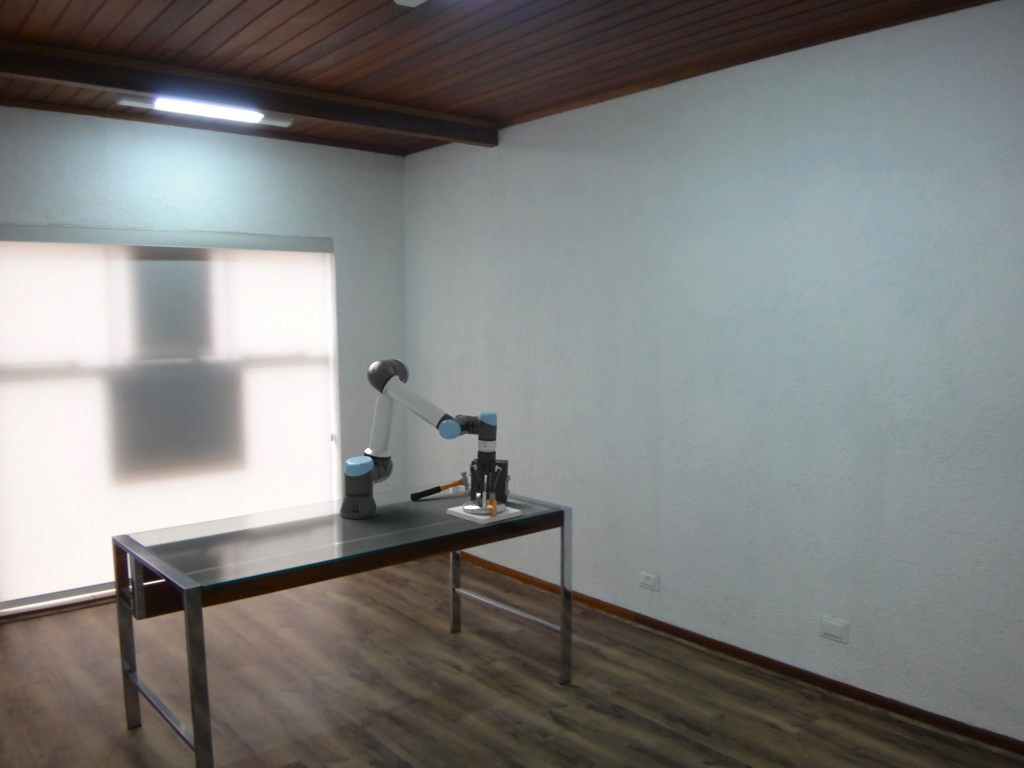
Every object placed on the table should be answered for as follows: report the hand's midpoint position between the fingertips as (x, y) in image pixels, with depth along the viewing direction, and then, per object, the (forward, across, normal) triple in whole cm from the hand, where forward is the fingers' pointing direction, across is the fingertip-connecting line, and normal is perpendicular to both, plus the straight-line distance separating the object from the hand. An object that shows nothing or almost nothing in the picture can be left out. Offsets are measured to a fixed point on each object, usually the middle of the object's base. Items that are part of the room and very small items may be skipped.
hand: (484, 507), depth 331 cm
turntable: (+3, -1, +7) cm, 7 cm away
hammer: (+7, -30, +32) cm, 44 cm away
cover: (+1, -2, +9) cm, 9 cm away
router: (+6, -6, +29) cm, 30 cm away
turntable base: (+5, -2, +8) cm, 10 cm away
